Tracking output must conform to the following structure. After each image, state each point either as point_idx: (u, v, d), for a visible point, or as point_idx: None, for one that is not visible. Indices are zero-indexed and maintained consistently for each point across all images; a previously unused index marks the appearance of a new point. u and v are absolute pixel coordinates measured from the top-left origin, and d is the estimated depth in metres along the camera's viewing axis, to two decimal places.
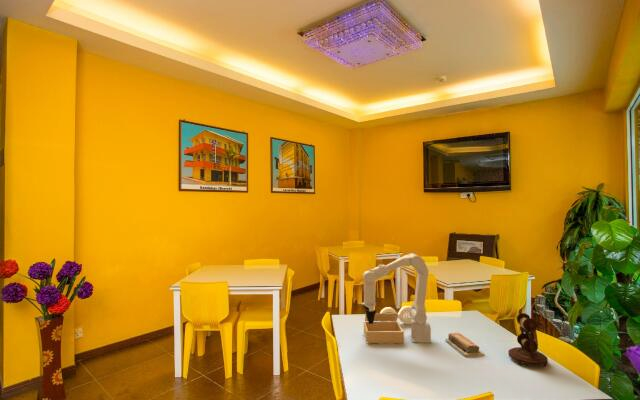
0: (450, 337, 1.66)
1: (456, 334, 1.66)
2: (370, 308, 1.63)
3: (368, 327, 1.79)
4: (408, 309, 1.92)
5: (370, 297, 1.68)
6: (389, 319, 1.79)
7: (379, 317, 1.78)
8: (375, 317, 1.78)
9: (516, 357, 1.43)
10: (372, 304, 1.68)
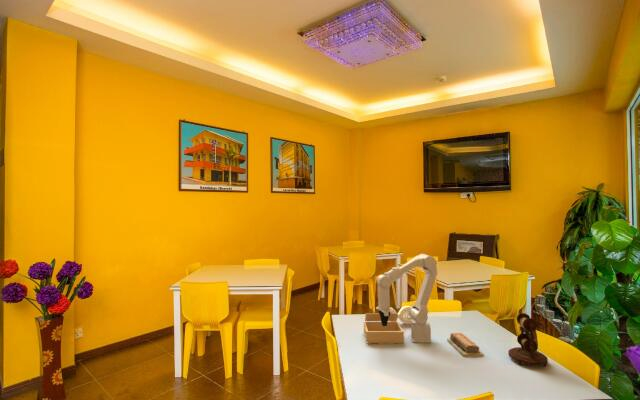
0: (452, 337, 1.66)
1: (458, 334, 1.66)
2: (385, 313, 1.60)
3: (368, 327, 1.79)
4: (408, 309, 1.92)
5: (385, 301, 1.65)
6: (389, 319, 1.79)
7: (379, 317, 1.78)
8: (375, 317, 1.78)
9: (516, 357, 1.43)
10: (387, 309, 1.65)
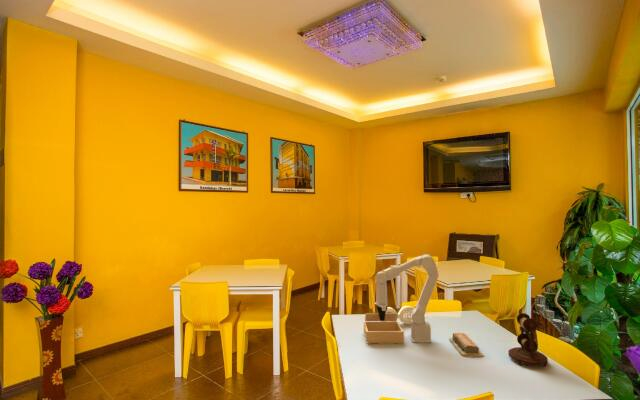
0: (454, 337, 1.66)
1: (460, 334, 1.66)
2: (383, 308, 1.68)
3: (368, 327, 1.79)
4: (408, 309, 1.92)
5: (382, 297, 1.72)
6: (389, 319, 1.79)
7: None
8: (375, 317, 1.78)
9: (516, 357, 1.43)
10: (384, 304, 1.73)
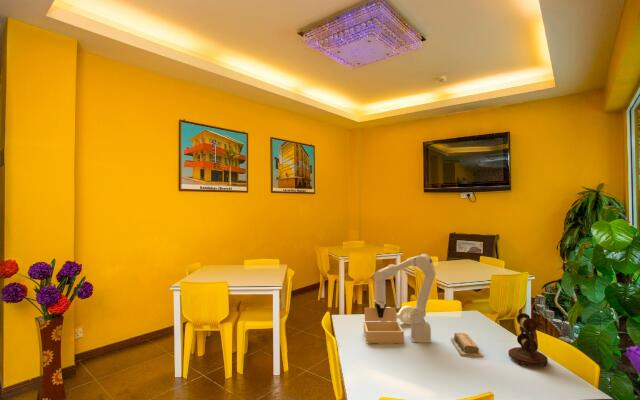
0: (455, 336, 1.66)
1: (461, 334, 1.66)
2: (381, 305, 1.73)
3: (368, 327, 1.79)
4: (408, 309, 1.92)
5: (381, 295, 1.77)
6: (389, 317, 1.80)
7: None
8: (374, 314, 1.81)
9: (516, 357, 1.43)
10: (383, 301, 1.77)
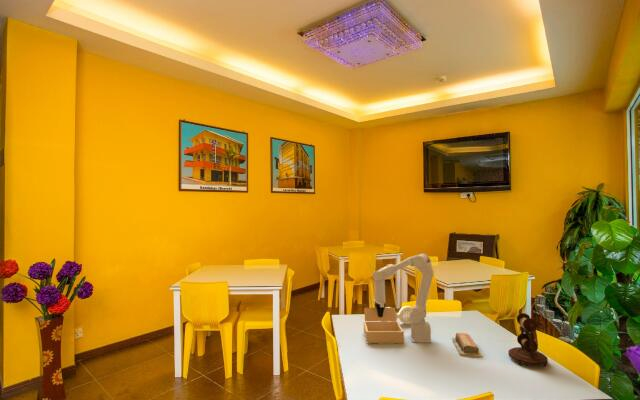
0: (456, 336, 1.66)
1: (463, 334, 1.65)
2: (381, 304, 1.74)
3: (368, 327, 1.79)
4: (408, 309, 1.92)
5: (380, 294, 1.79)
6: (388, 317, 1.81)
7: None
8: (374, 314, 1.82)
9: (516, 357, 1.43)
10: (382, 301, 1.79)
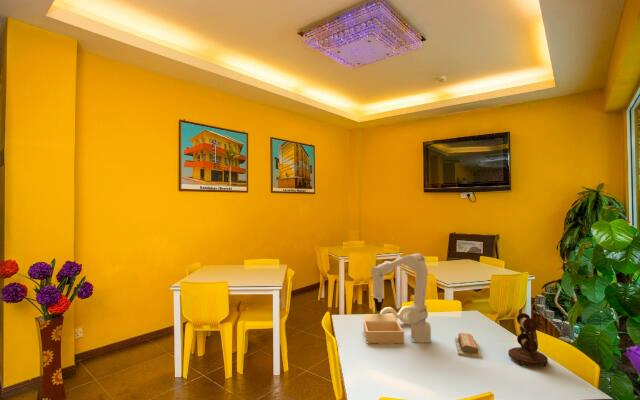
0: (459, 336, 1.66)
1: (465, 334, 1.65)
2: (379, 299, 1.81)
3: (368, 327, 1.79)
4: (408, 309, 1.92)
5: (378, 289, 1.86)
6: (388, 319, 1.82)
7: (377, 317, 1.84)
8: (374, 317, 1.84)
9: (516, 357, 1.43)
10: (380, 296, 1.86)
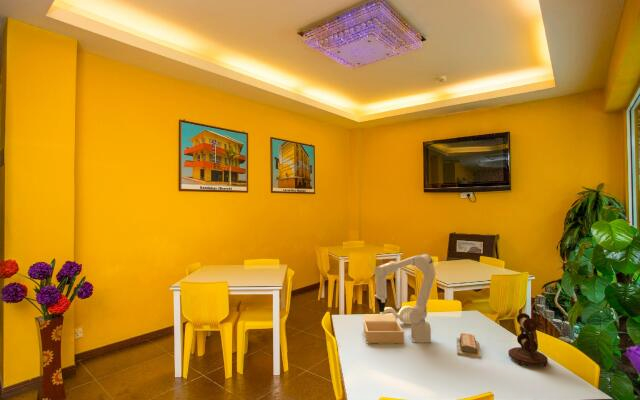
0: (460, 336, 1.66)
1: (467, 335, 1.65)
2: (382, 300, 1.76)
3: (368, 327, 1.79)
4: (408, 309, 1.92)
5: (382, 289, 1.80)
6: (388, 319, 1.82)
7: (377, 317, 1.84)
8: (374, 317, 1.84)
9: (516, 357, 1.43)
10: (384, 296, 1.80)
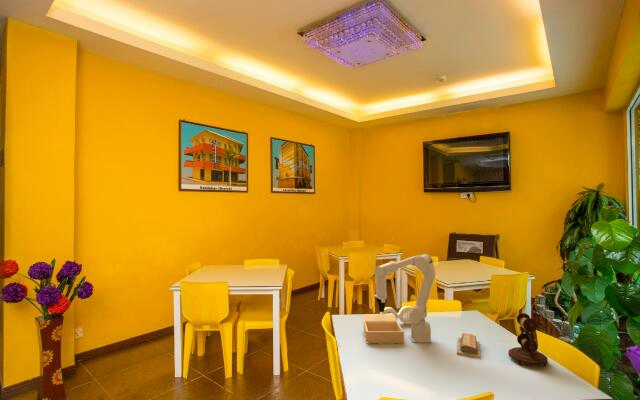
0: None
1: (468, 335, 1.65)
2: (382, 300, 1.76)
3: (368, 327, 1.79)
4: (408, 309, 1.92)
5: (382, 289, 1.80)
6: (388, 319, 1.82)
7: (377, 317, 1.84)
8: (374, 317, 1.84)
9: (516, 357, 1.43)
10: (384, 296, 1.80)
